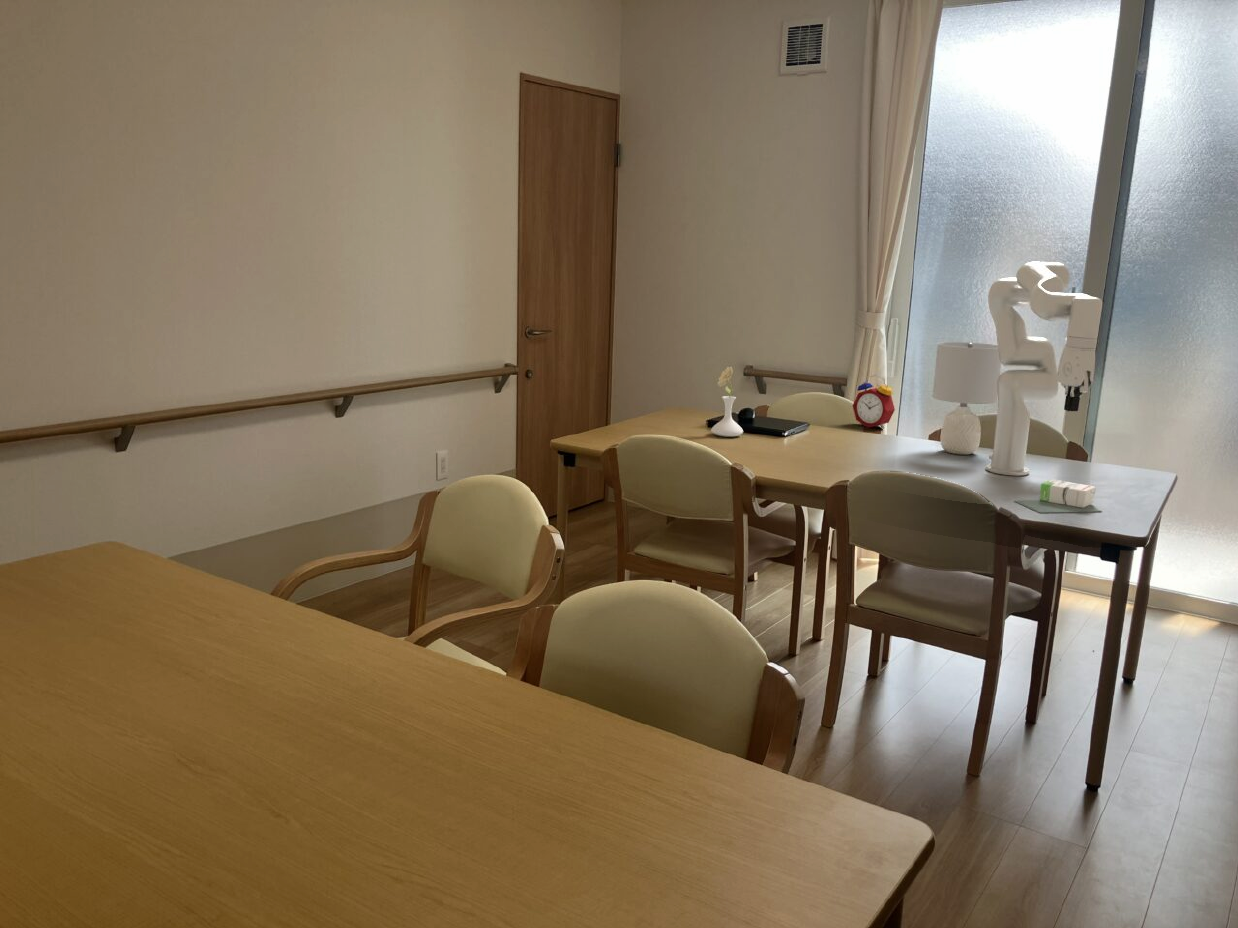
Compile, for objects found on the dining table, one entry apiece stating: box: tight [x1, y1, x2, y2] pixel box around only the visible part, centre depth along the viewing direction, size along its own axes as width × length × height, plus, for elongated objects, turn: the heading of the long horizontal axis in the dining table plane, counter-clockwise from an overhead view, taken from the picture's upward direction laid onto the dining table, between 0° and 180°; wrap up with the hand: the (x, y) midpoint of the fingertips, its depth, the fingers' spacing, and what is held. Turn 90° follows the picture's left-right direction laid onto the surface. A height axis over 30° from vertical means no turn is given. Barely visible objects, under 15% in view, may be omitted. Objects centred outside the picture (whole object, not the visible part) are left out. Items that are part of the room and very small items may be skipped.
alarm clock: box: [852, 374, 896, 430], centre depth 377 cm, size 15×9×20 cm, turn 43°
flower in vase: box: [710, 366, 744, 437], centre depth 349 cm, size 13×11×25 cm
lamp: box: [932, 341, 1002, 456], centre depth 331 cm, size 20×20×37 cm
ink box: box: [1038, 478, 1097, 508], centre depth 270 cm, size 9×5×12 cm
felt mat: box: [1013, 499, 1103, 514], centre depth 267 cm, size 12×18×1 cm, turn 100°
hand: (1070, 410), depth 270 cm, fingers closed
